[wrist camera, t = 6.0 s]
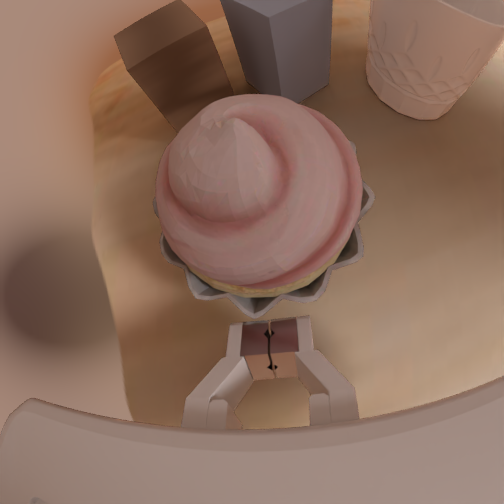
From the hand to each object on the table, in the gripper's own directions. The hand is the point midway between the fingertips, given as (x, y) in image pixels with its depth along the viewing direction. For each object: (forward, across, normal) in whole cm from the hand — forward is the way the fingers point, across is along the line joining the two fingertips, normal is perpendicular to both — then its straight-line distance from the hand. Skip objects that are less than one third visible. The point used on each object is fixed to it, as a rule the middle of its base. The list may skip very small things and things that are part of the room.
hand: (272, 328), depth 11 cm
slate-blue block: (+14, -2, -8) cm, 16 cm away
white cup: (+13, -11, -7) cm, 19 cm away
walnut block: (+13, +4, -7) cm, 15 cm away
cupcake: (+7, 0, 0) cm, 7 cm away
